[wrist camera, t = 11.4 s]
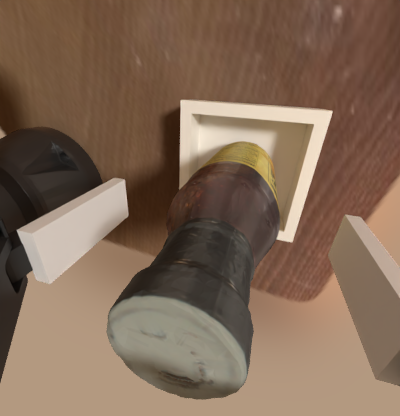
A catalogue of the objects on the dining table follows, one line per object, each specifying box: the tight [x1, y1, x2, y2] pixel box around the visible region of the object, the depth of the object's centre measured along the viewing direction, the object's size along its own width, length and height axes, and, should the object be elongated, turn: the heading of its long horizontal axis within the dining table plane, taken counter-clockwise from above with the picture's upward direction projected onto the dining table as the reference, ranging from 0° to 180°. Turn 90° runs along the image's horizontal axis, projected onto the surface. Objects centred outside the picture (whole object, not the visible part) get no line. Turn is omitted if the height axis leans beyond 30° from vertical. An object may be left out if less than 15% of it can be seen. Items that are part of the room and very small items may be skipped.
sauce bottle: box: [107, 141, 280, 399], centre depth 14 cm, size 6×6×20 cm
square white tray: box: [179, 100, 333, 242], centre depth 22 cm, size 12×12×4 cm
